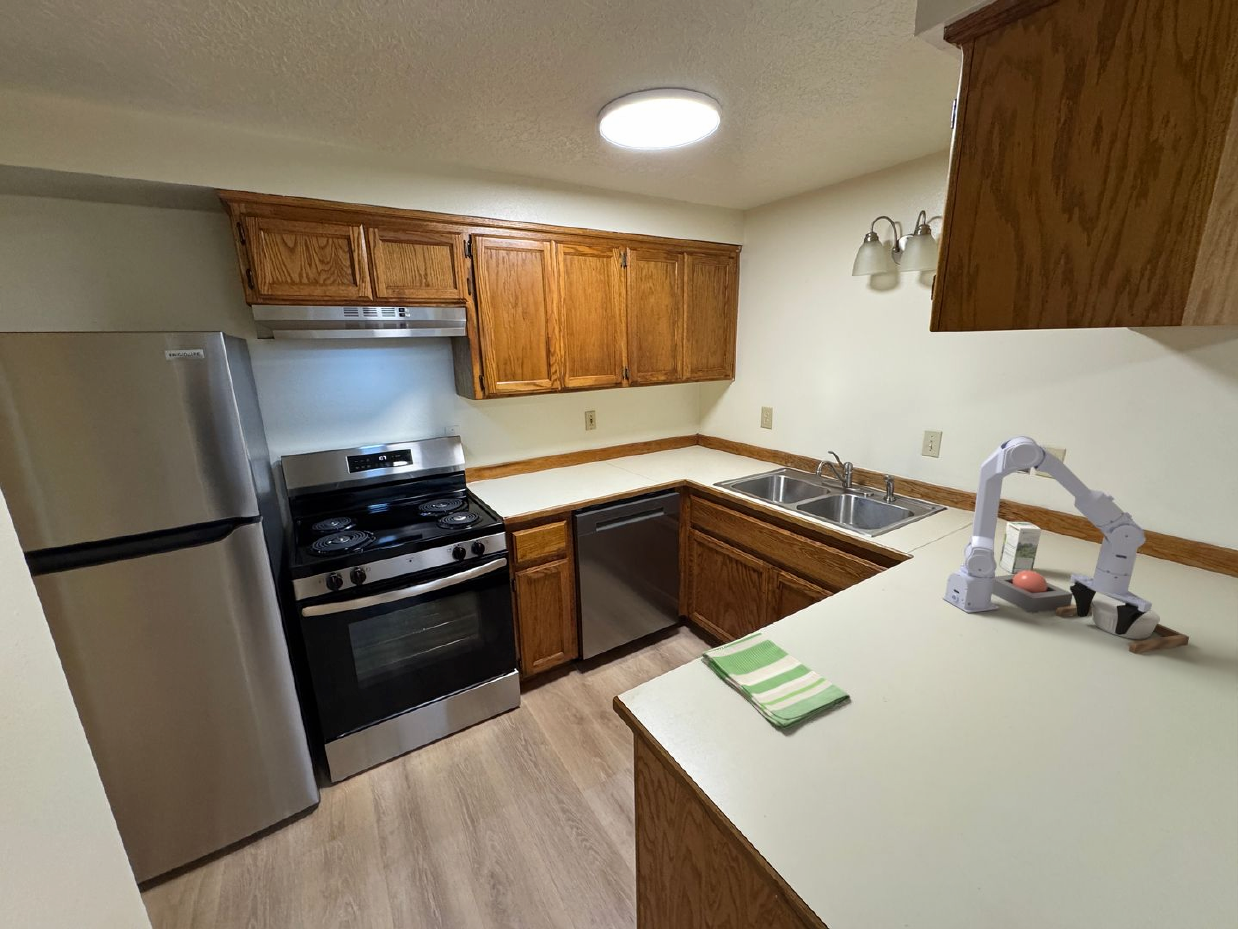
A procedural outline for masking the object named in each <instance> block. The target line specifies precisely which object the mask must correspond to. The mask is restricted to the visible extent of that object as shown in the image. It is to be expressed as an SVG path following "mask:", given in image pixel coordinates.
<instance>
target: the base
mask: <svg viewBox="0 0 1238 929" xmlns="http://www.w3.org/2000/svg"><path fill="white" fill-rule="evenodd" d="M1015 575H1016V574H1014V573H1013V574H1006V575H1005V574H1004V575H998V576H996V575H995V579H994V584H993V590H992V595H993V596H994V595H995V596H996V597H999V598H1000V599H1002V600H1004V601H1006V602H1008V603H1010V604H1012V605H1014V606H1016V607H1018V608H1020V609H1021V610H1024V611H1026V612H1028V613H1030V614H1035V613H1042V612H1050V611H1057V608H1060V607H1067V606H1072V600H1073V597H1074V596H1073V594H1072V592H1071V591H1068V590H1065V589H1063V588H1061V587H1059V586H1056V585H1054V584H1051V583H1050V582H1047V586H1048V587H1047V591H1046V592H1040V593H1030V592H1028V591H1026V590H1024V589H1022V588H1019V587H1017V586H1015V585H1013V578H1014V576H1015Z"/></svg>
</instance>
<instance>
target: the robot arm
mask: <svg viewBox="0 0 1238 929" xmlns="http://www.w3.org/2000/svg"><path fill="white" fill-rule="evenodd" d="M979 468H980V469H979V475H978V476H979V477H978V482H977V492H976V497H975V498H976V499H975V506H974V514H973V522H972V531H971V534H970V538H969V542H968V543H967V545H966V546H965V547H964V549H963V554H964V559H965V560H964V562H963V563H962V564H961V565H960V568H959V569H958V571H956V572H953V573H951V574H950V575H949V576H948V577H947V583H946V589H945V595H942V597H941V598H942V599H943V600H945V601H947V602H949V603H950V604H952V605H954V606H955V607H957V608H959V609H960V610H962V611H964V612H966V613H968V614H969V613H977V612H985V611H993V610H994V611H995V610H998V609H999V608H1000V607H999V606H998V605H996V604H994V603H991V602H992V595H993V594H992V590H993V584H994V579H995V577H996V570H997V567H998V566H997V562H996V559H995V537H996V530H997V523H998V516H999V508H1000V501H1001V492H1002V486H1003V479H1004V478H1005V477H1007V476H1009V475H1011V474H1012V473H1015V472H1017V471H1021V470H1022V471H1023V470H1027V469H1030V468H1031V469H1032V468H1033V469H1034V471H1037V472H1042V473H1046V474H1049V475H1050V476H1051V477H1052V478H1053V479H1054V480H1055V481H1056V482H1057V483H1058V484H1060V485H1061V486H1062V487H1063V488H1064V489H1065V490H1066V491H1068V492H1069V493H1070V494H1071V495H1072V496H1073V497H1074V508H1076V509H1077V510H1078V511H1079V512H1080V513H1081V514H1082V515H1083V516H1084V517H1085V518H1086V519H1087V520H1088V521H1089V522H1090V523H1091V524H1092V525H1093V526H1095V528H1097V529H1099V530H1100V532H1101V533H1102V534H1103V535H1104V536H1103V538H1102V542H1101V546H1100V548H1099V553H1098V556H1097V560H1096V561H1097V562H1096V565H1095V569H1094V573H1093V574H1094V575H1093V578H1091V577H1088V576H1085V575H1082V574H1079V573H1075V574H1071V575H1070V580H1069V582H1070V583H1071V584H1074V585H1070V586H1069V591H1070V593H1072V594H1073V596H1072V597H1073V598H1074V602H1075V605H1076V607H1077V615H1076V616H1078V617H1079V618H1083V617H1088V615H1089V614H1090V613H1089V610H1090V606H1091V602H1092V600H1093V599H1094V597H1095V596H1096V593H1099V594H1101V595H1104V596H1105V597H1107V598H1113V599H1116V600H1118V601H1120V602H1123V603H1125V605H1119V606H1117V613H1118V619H1117V624H1116V628H1115V633H1116V634H1118V635H1123V634H1126V633H1127V631H1128V629H1129V628H1130V627H1131V625H1132V624H1133V623H1134V622H1135V621H1136V620H1137V619H1138V618H1139V617H1141V616H1142V615H1143V614H1145V613H1146V612H1148V611H1150V610H1152V607H1153V606H1152V605H1153V603H1152V602H1150V601H1148V600H1145V599H1144V598H1142V597H1140V596H1138V595H1136V594H1135V593H1133V592H1130V591H1129V586H1130V583H1131V579H1132V574H1133V571H1134V567H1135V564H1136V563H1135V562H1136V558H1137V551H1138V548H1139V547H1141V546H1143V545H1144V544H1145V542H1146V540H1147V538H1146V537H1145V536H1146V535H1145V532H1144V530H1143V529H1142V527H1140V526H1139V525H1138V524H1137V523H1136V522H1135V521H1134V519H1133V518H1132V515H1131V514H1130V513H1129V511H1128V512H1127V511H1126V512H1125V511H1123V510H1122V509H1121V508H1120V507H1119V506H1118V505H1117V504H1116V503H1115V502H1114V500H1115V498H1114V497H1113V496H1112V495H1111V494H1110V493H1107V494H1105V492H1103V491H1101V490H1094V489H1090V488H1089V487H1088V486H1087V485H1086V484H1085V483H1084V482H1083V481H1081V479H1080V478H1079V477H1078V476H1077V475H1076V474H1074V472H1073V471H1071V469H1069V467H1068V466H1066V464H1064V462H1063V461H1061V459H1059V457H1057V456H1056V455H1055V454H1053V453H1052V452H1051V451H1049V450H1048V449H1046V448H1045V447H1043V446H1042V445H1041V444H1040V445H1039V444H1037V442H1036V441H1035V440H1034V439H1033V438H1032V437H1030V436H1029V437H1028V436H1025V435H1017V436H1014V437H1012V438H1010V439H1008V440H1006V441H1004V442H1001V444H999V446H998V447H997V448H996V450H994V451H993V452H992V453H991V454H990V455H989V456H988V457H987V458H985V460H984V462H982V463H981V465H980V467H979Z"/></svg>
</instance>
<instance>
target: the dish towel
mask: <svg viewBox="0 0 1238 929" xmlns="http://www.w3.org/2000/svg"><path fill="white" fill-rule="evenodd" d="M723 647H724V648H723ZM721 648H722V649H721ZM719 649H720V650H719ZM716 650H717V651H716ZM714 651H715V652H714ZM701 655H702V658H700V660H701V662H704V663H705V664H706V665H707V666H708V668H709V669H711V670H712V672H715V674H717V675H718V676H719V677H720V678H721V679H723V680H724V681H725V682H726V684H729V685H730V686H731V687H732V688H733V689H734V690H735V691H736V692H737V693H738V694H739V695H740V696H741V697H743V698H744V699H745V700H747V701H748V702H749V703H750V704H751V705H752V706H753V707H754V708H755V709H756V711H758V712H759V713H760V714H761V715H762V716H763V717H765V718H766V719H767V720H769V721H770V722H771V723H772V724H774V725H776V726H777V727H780V728H781V729H782V730H784V731H785V730H787V729H789V728H792V727H793V726H796V725H798V724H800V723H802V722H804V721H806V720H807V719H809V718H811V717H812V716H813V717H814V716H815V715H817V714H818V713H821V712H822V711H824V710H826V709H827V708H829V707H831V706H832V707H831V708H832V709H833V708H835V707H837V706H839V705H841V704H844V703H846V702H848V701H849V700H850V699H851V696H850V694H849V693H847V692H846V691H844V690H843V689H841V688H840V687H838V686H837V685H835V684H833V683H831V682H830V681H829V680H828V679H825V678H824V677H822V676H821V675H820V674H818V673H816V672H815V671H813V670H812V669H811V668H808V666H806V665H804V664H803V663H801V662H800V661H799V660H797V659H796V658H794V657H793V656H791V654H789V653H788V652H786V650H784V649H782V648H781V647H780V646H778V645H777V644H776V643H774V642H773V641H772V640H770V639H769V638H767V637H766V636H765V635H763V633H762V632H760V631H758V632H755V633H753V634H750V635H748V636H744V637H742V638H740V639H737V640H734V641H731V642H728V643H726V644H723V645H720V646H718V647H714V648H711V649H709V650H705V651H703V652H702V653H701ZM840 701H841V702H840Z"/></svg>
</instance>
